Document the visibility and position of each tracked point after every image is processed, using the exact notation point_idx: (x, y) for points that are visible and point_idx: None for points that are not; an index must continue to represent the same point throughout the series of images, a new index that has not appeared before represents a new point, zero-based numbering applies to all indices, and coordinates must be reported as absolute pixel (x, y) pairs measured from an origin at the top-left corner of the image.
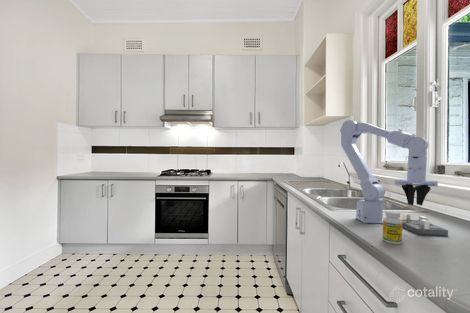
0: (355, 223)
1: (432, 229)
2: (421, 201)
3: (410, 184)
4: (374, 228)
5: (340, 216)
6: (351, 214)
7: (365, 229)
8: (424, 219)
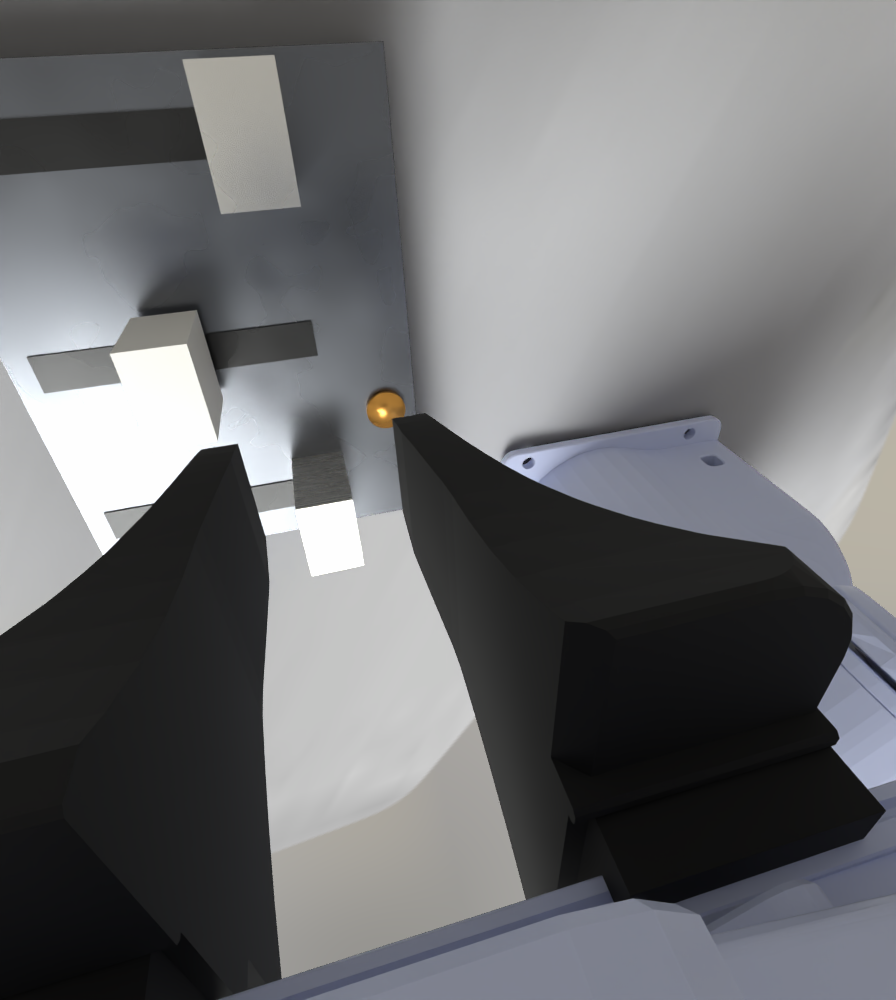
0: (793, 380)
1: (136, 69)
2: (220, 475)
3: (691, 892)
4: (732, 238)
5: None
6: None
7: (853, 169)
8: (172, 337)
